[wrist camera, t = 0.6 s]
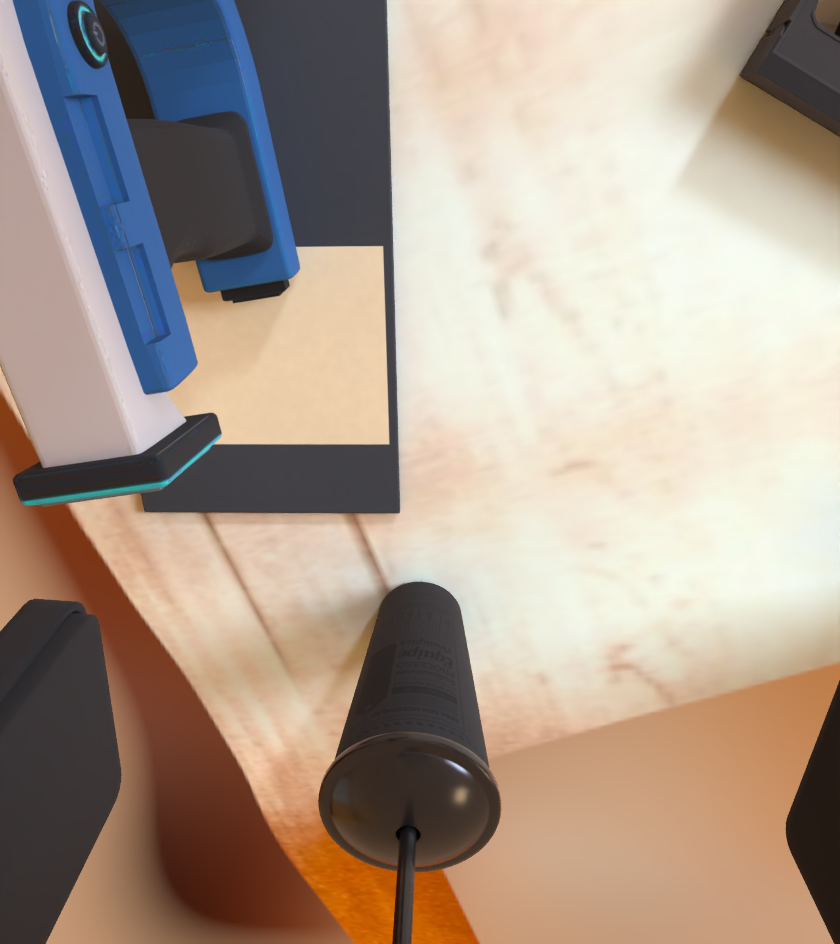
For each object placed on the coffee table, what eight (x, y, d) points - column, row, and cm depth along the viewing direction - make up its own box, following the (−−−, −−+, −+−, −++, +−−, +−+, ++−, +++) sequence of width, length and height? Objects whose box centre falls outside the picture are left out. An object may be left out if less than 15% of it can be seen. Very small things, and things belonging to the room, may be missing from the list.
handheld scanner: (224, 338, 36) (22, 532, 18) (116, -50, 30) (-357, -335, 12) (315, 324, 36) (199, 506, 18) (225, -73, 29) (-93, -403, 12)
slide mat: (31, -120, 29) (25, -123, 29) (383, -129, 29) (382, -132, 28) (147, 509, 41) (144, 512, 41) (400, 510, 40) (399, 513, 40)
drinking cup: (345, 657, 45) (276, 1015, 26) (366, 549, 41) (303, 872, 23) (469, 678, 45) (485, 1047, 27) (498, 573, 42) (540, 910, 24)
